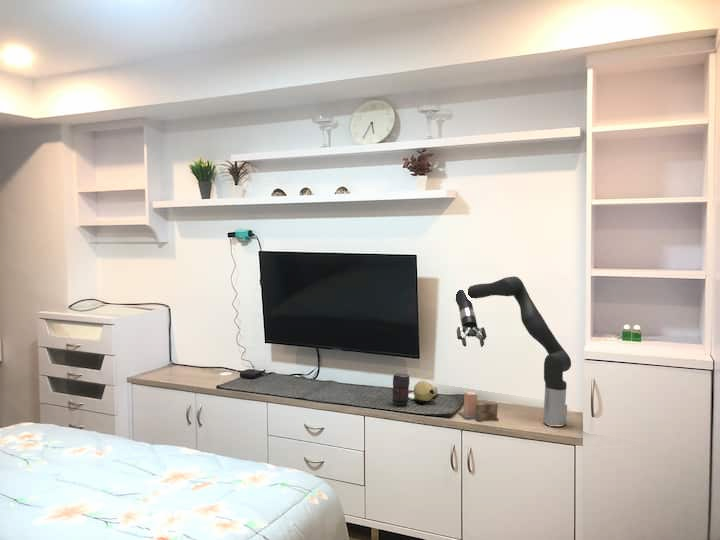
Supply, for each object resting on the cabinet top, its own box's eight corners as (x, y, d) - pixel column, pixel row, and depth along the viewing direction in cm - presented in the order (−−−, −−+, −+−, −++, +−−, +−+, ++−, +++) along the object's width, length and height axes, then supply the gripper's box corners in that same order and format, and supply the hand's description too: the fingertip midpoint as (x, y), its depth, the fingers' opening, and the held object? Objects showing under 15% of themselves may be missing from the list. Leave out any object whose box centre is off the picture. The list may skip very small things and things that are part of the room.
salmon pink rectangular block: (472, 412, 282) (473, 391, 281) (476, 415, 277) (477, 394, 276) (463, 412, 281) (464, 391, 280) (467, 415, 276) (468, 394, 275)
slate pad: (473, 413, 284) (473, 411, 284) (481, 418, 276) (481, 416, 276) (458, 414, 282) (458, 412, 281) (465, 419, 274) (465, 417, 274)
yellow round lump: (432, 406, 292) (433, 385, 291) (410, 402, 297) (410, 381, 297) (439, 401, 300) (440, 381, 299) (417, 397, 306) (418, 377, 305)
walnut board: (493, 417, 278) (494, 401, 278) (498, 420, 274) (499, 404, 273) (474, 418, 275) (475, 403, 275) (478, 421, 271) (479, 405, 271)
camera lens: (403, 408, 287) (405, 378, 286) (389, 405, 292) (390, 375, 290) (411, 404, 294) (412, 374, 293) (396, 401, 298) (397, 372, 297)
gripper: (456, 314, 298) (461, 341, 287) (483, 314, 299) (489, 341, 289) (452, 323, 304) (458, 349, 293) (479, 323, 305) (485, 350, 295)
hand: (473, 345), depth 291 cm, fingers open, 8 cm apart
